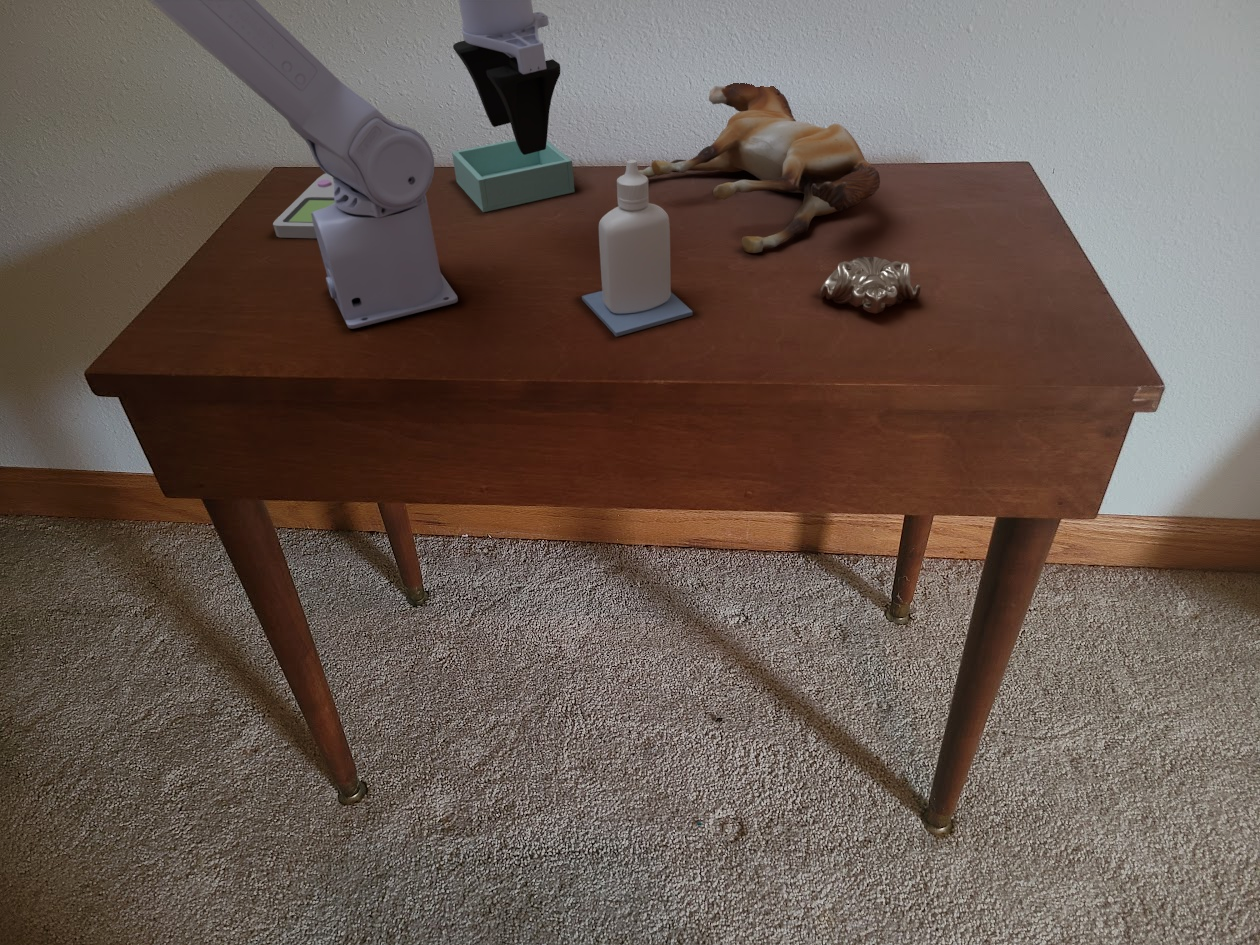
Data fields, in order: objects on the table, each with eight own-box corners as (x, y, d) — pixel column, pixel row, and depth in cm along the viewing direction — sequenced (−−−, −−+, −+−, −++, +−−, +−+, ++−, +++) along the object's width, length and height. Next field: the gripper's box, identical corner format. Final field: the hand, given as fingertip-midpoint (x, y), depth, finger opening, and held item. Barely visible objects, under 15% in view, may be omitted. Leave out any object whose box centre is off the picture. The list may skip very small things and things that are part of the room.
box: (483, 212, 92) (478, 180, 90) (456, 182, 99) (451, 151, 97) (574, 192, 96) (572, 160, 93) (543, 164, 102) (540, 134, 100)
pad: (616, 337, 73) (616, 332, 72) (581, 299, 78) (581, 295, 77) (692, 315, 75) (692, 311, 74) (654, 280, 80) (654, 276, 79)
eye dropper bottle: (606, 289, 78) (598, 151, 70) (671, 290, 77) (670, 150, 70) (600, 315, 75) (591, 172, 67) (668, 316, 74) (667, 172, 66)
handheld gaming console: (414, 165, 99) (366, 224, 87) (417, 179, 100) (369, 239, 88) (327, 164, 100) (269, 222, 89) (331, 178, 101) (273, 237, 90)
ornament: (823, 325, 73) (827, 284, 70) (815, 284, 78) (819, 245, 76) (924, 325, 72) (932, 284, 70) (910, 284, 77) (917, 244, 75)
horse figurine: (598, 120, 95) (752, 63, 102) (609, 190, 100) (755, 131, 107) (793, 205, 74) (971, 125, 81) (795, 288, 79) (962, 207, 86)
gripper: (572, -30, 66) (592, 152, 75) (505, -62, 76) (530, 102, 85) (481, -11, 64) (513, 173, 73) (425, -46, 74) (459, 120, 83)
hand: (517, 136), depth 79 cm, fingers open, 7 cm apart
